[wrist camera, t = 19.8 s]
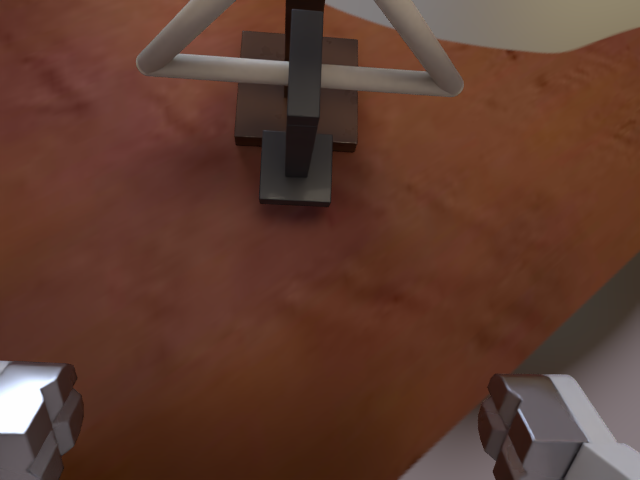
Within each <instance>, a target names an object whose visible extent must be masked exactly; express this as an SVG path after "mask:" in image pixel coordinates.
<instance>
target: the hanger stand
mask: <svg viewBox="0 0 640 480" xmlns="http://www.w3.org/2000/svg"><path fill="white" fill-rule="evenodd" d="M235 1H236V0H190V1H189V3H188V4H187V5H186V6H185V7H184V8H183V9H182V10H181V11H180V12H179V13H178V14H177V15H176V16H175V17H174V18H173V19H172V20H171V21H170V23H169V24H168V25H167V26H166V27H165V28H164V29H163V30H162V31H161V32H160V33H159V34H158V35H157V36H156V37H155V38H154V39H153V40H152V41H151V43H150V44H149V45H148V46H147V47H146V48H145V49H144V50H143V51H142V52H141V53H140V54H139V55H138V57H137V59H136V66H137V68H138V70H139V71H140V72H141V73H142V74H143V75H146V76H154V77H168V78H183V79H197V80H212V81H226V82H238V95H237V108H236V120H235V133H234V137H235V142H236V145H247V146H262V134H263V130H265V131H282V132H286V122H287V98H288V76H289V54H290V32H291V11H292V9H298V10H310V11H322V12H323V13H324V5H325V0H286V14H285V34H279V33H266V32H253V31H242V43H241V56H240V58H232V57H218V56H204V55H191V54H179V53H180V52H181V51H182V50H183V49H184V48H185V47H186V46H187V45H188V44H189V43H191V42H192V41H193V40H194V39H195V38H196V37H197V36H198V35H199V34H200V33H201V32H202V31H203V30H205V29H206V28H207V27H208V26H209V25H210V24H211V23H212V22H213V21H214V20H215V19H216V18H217V17H219V16H220V15H221V14H222V13H223V12H224V11H225V10H226V9H227V8H228V7H229V6H230V5H231V4H233V3H234V2H235ZM374 1H375V2H376V4H377V5H378V6H379V8H380V9H381V10H382V12H383V13H384V14H385V16H386V17H387V18H388V20H389V21H390V22H391V24H392V25H393V27H394V28H395V29H396V31H397V32H398V33H399V35H400V36H401V37H402V39H403V40H404V41H405V43H406V44H407V45H408V47H409V48H410V49H411V51H412V52H413V53H414V55H415V56H416V57H417V59H418V60H419V62H420V63H421V64H422V66H423V67H424V68H425V70H426V71H427V72H424V71H410V70H397V69H383V68H369V67H358V40H356V39H343V38H331V37H323V41H322V70H321V99H320V119H319V123H318V128H317V133H316V134H331V135H333V149H332V151H348V152H354V151H355V149H356V146H357V112H358V91H371V92H386V93H400V94H415V95H429V96H444V97H454V96H457V95H458V94H460V93H461V91H462V90H463V86H464V82H463V79H462V78H461V76H460V75H459V73H458V71H457V70H456V68H455V67H454V65H453V64H452V62H451V61H450V59H449V57H448V56H447V54H446V53H445V51H444V50H443V48H442V47H441V45H440V43H439V42H438V40H437V39H436V37H435V36H434V34H433V33H432V31H431V29H430V28H429V26H428V25H427V23H426V22H425V20H424V19H423V17H422V15H421V14H420V12H419V11H418V9H417V8H416V6H415V5H414V3H413V2H412V0H374Z"/></svg>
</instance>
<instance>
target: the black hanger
mask: <svg viewBox="0 0 640 480" xmlns="http://www.w3.org/2000/svg"><path fill="white" fill-rule="evenodd" d="M322 41H323V12H322V11H310V10H298V9H292V11H291V32H290V54H289V76H288V98H287V122H286V132H282V131H265V130H263V134H262V153H261V172H260V191H259V200H260V203H261V204H278V205H299V206H319V207H329V205H330V203H331V182H332V149H333V135H331V134H316V133H317V128H318V123H319V119H320V99H321V70H322Z"/></svg>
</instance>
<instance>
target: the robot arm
mask: <svg viewBox="0 0 640 480" xmlns="http://www.w3.org/2000/svg"><path fill="white" fill-rule="evenodd" d="M76 380H77V375H76V372H75V368H74V365H71V364H66V363H46V362H25V361H0V480H59V478H60V476H61V473H62V471H63V469H64V466H63V462H62V459H61V456H62V455H63V454H65V453H66V452H67V451H68V450H70V449H71V448H72V447H74V445H75V443H76V441H77V438H78V436H79V434H80V431H81V426H82V422H83V417H84V404H83V400H82V395H81V394H80V393H78V392H77V391H76V390H75V389H74V388H73V386H74V384H75V382H76ZM487 388H488V390H489V393H490V395H491V396H490V397H489V398H488V399H486V400H485V401H484V402H482V404H481V407H480V411H479V414H478V430H479V435H480V440H481V442H482V445H483V448H484V450H485V452H486V453H487V454H489V455H490V456H491V457H492V458H493V459H494V460H496V464H495V466H494V469H493V474H494V476H495V479H496V480H640V453H639V452H637V451H636V450H634V449H633V448H632V447H630V446H629V445H627V444H621V443H618V442H617V441H616V439H615V438H614V436H613V435H612V433H611V432H610V430H609V429H608V427H607V426H606V424H605V423H604V421H603V420H602V418H601V417H600V415H599V414H598V413H597V411H596V410H595V408H594V407H593V405H592V404H591V402H590V401H589V399H588V398H587V396H586V395H585V393H584V392H583V390H582V389H581V388H580V386H579V385H578V383H577V382H576V380H575V379H574V378H573V377H571V376H570V375H554V374H544V375H541V374H494V375H493V376H492V377H491V378H490V381H489V384H488V387H487Z"/></svg>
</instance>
